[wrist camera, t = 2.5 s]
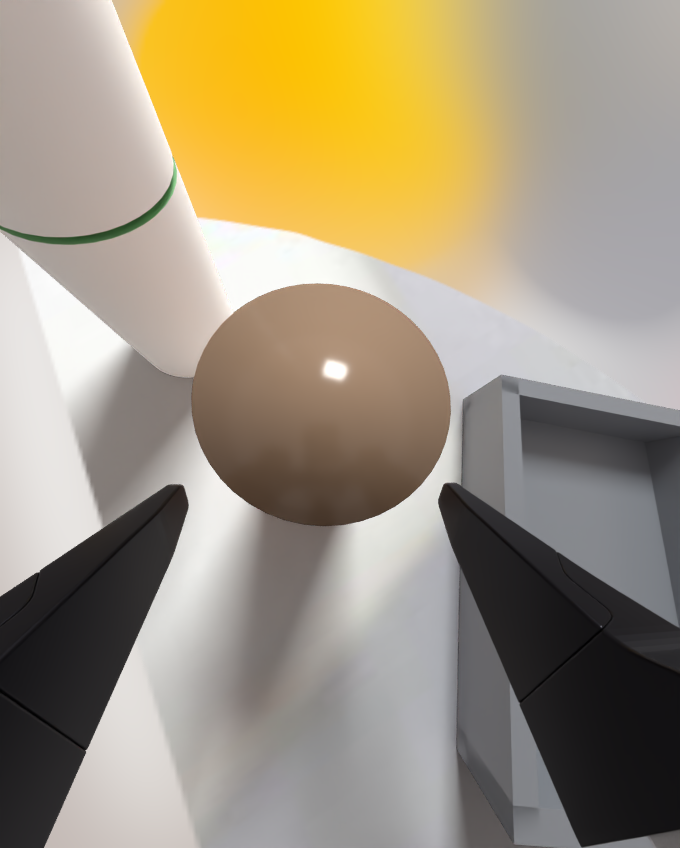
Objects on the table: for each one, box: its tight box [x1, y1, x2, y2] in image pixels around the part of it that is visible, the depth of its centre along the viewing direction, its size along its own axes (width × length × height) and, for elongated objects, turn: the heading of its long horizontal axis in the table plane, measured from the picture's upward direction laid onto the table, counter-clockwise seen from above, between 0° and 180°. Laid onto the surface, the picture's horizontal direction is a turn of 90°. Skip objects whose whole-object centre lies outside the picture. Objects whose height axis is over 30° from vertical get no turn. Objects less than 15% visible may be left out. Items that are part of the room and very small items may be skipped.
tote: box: [457, 375, 680, 848], centre depth 17 cm, size 22×16×4 cm
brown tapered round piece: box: [191, 284, 451, 526], centre depth 13 cm, size 6×6×13 cm
